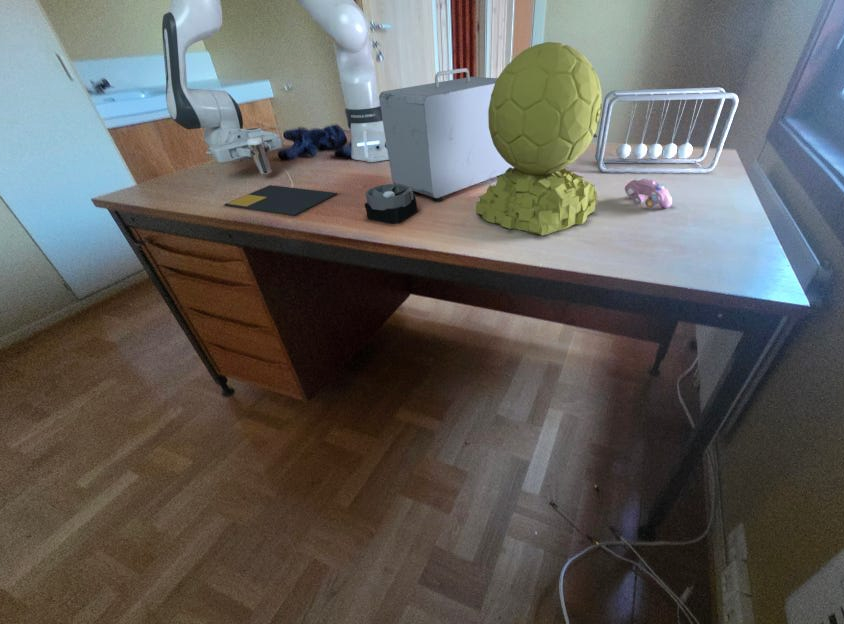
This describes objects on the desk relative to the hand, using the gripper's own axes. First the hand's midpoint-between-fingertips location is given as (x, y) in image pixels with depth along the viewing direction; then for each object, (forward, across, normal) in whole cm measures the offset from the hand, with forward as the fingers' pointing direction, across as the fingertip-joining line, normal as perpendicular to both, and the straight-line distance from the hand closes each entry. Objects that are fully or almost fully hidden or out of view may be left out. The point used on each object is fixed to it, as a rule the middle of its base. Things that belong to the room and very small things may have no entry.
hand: (260, 150), depth 111 cm
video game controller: (+98, +38, +9) cm, 105 cm away
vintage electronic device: (+49, +28, +8) cm, 57 cm away
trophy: (+80, +20, +8) cm, 83 cm away
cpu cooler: (+53, +2, +8) cm, 53 cm away
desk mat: (+19, -8, +8) cm, 22 cm away
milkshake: (-1, 0, +6) cm, 6 cm away
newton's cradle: (+88, +67, +9) cm, 111 cm away
